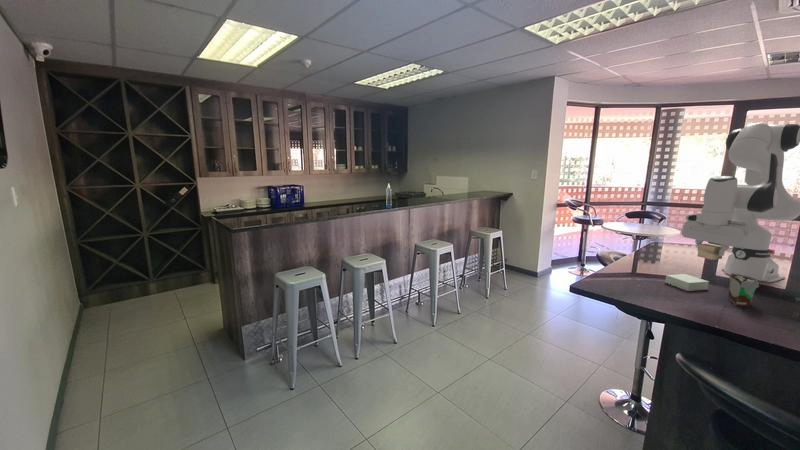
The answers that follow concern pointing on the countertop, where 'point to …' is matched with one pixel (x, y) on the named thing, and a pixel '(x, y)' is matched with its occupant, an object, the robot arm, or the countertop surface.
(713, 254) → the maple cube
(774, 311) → the countertop surface
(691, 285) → the sage block
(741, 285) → the food container
